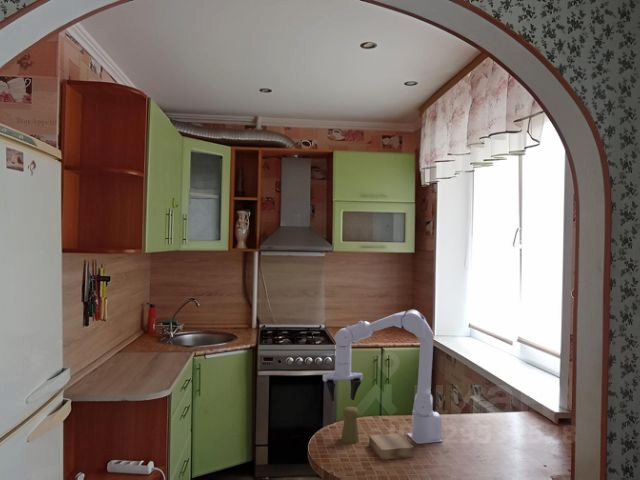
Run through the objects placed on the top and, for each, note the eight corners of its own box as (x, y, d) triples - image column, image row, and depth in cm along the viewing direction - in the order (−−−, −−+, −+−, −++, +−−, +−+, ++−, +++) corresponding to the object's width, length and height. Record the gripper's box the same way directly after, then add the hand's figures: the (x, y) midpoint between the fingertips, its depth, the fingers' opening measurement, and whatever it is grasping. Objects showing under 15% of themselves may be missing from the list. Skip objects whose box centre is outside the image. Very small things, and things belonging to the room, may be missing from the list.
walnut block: (399, 442, 163) (399, 433, 163) (413, 456, 152) (414, 447, 152) (369, 444, 160) (369, 435, 160) (381, 459, 149) (381, 450, 149)
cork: (357, 444, 160) (358, 411, 160) (339, 442, 161) (340, 409, 161) (359, 437, 166) (360, 405, 166) (342, 435, 167) (343, 403, 167)
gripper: (358, 358, 178) (357, 395, 178) (321, 360, 175) (320, 397, 175) (365, 363, 172) (364, 401, 172) (326, 365, 168) (325, 404, 168)
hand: (342, 399), depth 173 cm, fingers open, 7 cm apart
